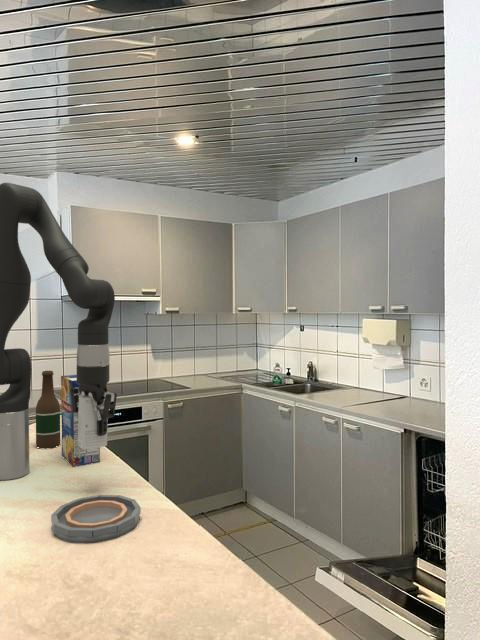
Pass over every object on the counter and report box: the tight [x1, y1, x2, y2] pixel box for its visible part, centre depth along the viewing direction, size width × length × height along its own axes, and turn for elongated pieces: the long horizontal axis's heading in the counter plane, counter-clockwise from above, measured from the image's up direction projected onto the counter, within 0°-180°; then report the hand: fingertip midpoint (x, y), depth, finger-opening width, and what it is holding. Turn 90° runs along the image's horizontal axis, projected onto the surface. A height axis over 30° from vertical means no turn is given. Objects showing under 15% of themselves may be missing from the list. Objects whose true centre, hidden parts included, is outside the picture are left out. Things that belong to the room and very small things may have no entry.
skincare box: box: [78, 395, 109, 449], centre depth 115 cm, size 6×4×12 cm
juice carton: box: [60, 374, 101, 468], centre depth 139 cm, size 12×8×24 cm, turn 35°
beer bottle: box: [35, 370, 61, 449], centre depth 153 cm, size 8×8×24 cm
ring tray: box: [50, 494, 142, 544], centre depth 98 cm, size 17×17×2 cm
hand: (93, 432), depth 115 cm, fingers closed on skincare box, 5 cm apart
